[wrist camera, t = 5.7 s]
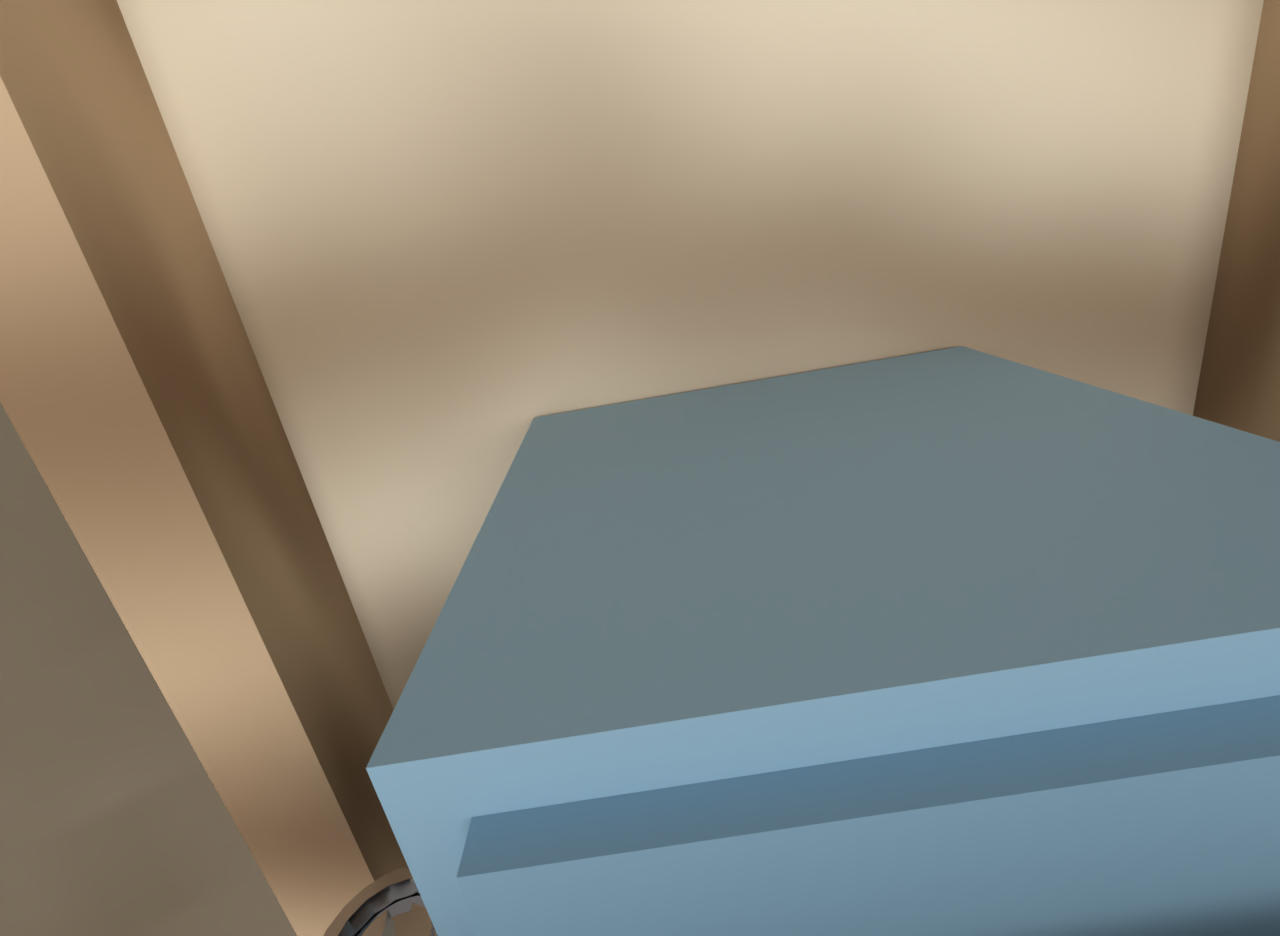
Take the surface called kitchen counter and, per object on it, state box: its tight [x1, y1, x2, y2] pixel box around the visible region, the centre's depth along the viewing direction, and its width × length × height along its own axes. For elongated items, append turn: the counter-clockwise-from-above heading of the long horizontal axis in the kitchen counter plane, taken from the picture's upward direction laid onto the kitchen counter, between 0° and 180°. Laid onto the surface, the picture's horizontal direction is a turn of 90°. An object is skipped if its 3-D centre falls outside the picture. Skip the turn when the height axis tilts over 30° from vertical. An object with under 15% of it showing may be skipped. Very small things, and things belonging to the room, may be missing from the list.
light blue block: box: [366, 346, 1280, 936], centre depth 7 cm, size 8×6×6 cm
